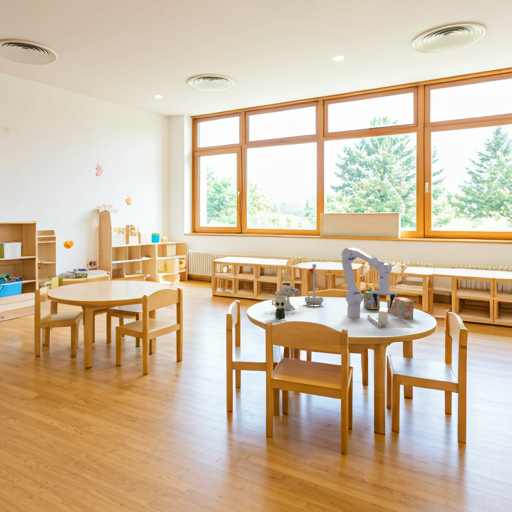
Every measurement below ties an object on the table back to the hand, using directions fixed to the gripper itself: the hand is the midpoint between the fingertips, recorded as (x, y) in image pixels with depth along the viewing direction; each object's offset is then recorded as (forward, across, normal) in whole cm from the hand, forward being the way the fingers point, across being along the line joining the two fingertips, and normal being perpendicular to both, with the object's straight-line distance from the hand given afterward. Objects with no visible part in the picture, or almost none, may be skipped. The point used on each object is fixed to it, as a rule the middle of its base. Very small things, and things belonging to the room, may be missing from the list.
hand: (383, 307), depth 239 cm
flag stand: (+11, +50, -42) cm, 66 cm away
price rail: (+9, +5, +2) cm, 11 cm away
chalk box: (+11, +10, -43) cm, 46 cm away
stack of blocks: (+11, -9, -25) cm, 28 cm away
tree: (+11, +64, -22) cm, 68 cm away
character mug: (+11, +62, +4) cm, 63 cm away
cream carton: (+9, 0, 0) cm, 9 cm away
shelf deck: (+10, -4, -1) cm, 11 cm away
